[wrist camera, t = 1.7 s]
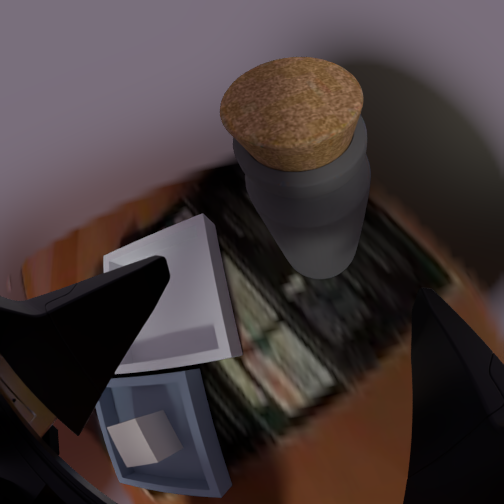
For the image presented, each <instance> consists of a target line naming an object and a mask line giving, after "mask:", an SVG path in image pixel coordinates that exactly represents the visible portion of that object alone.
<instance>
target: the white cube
mask: <svg viewBox="0 0 504 504" xmlns="http://www.w3.org/2000/svg"><path fill="white" fill-rule="evenodd" d="M107 429H108V431H109V433H110V435H111V438H112V440H113V442H114V444H115V446H116V448H117V450H118V452H119V453H120V455H121V457H122V459H123V461H124V463H125V465H126V466H127V467H134V466H140V465H146V464H152V463H158V462H160V461H162V460H163V459H165V458H167V457H169V456H171V455H172V454H174V453H176V452H177V451H179V450H181V449H182V448H183V446H182V444H181V442H180V440H179V439H178V437H177V435H176V433H175V431H174V429H173V428H172V426H171V424H170V422H169V420H168V418H167V416H166V414H165V412H164V410H161V411H158V412H155V413H152V414H148V415H144V416H141V417H136V418H133V419H130V420H127V421H124V422H121V423H118V424H116V425H113V426H110V427H107Z"/></svg>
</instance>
